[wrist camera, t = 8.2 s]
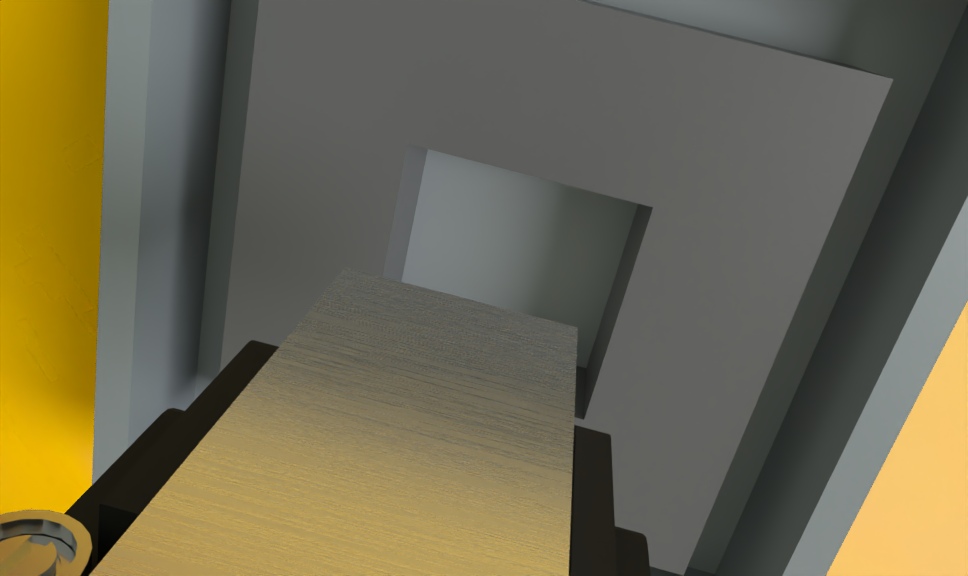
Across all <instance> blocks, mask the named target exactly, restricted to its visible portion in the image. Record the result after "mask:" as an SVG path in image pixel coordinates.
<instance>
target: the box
mask: <svg viewBox="0 0 968 576" xmlns="http://www.w3.org/2000/svg"><path fill="white" fill-rule="evenodd" d="M345 267H348V268H351V269H355V270H359V271H363V272H367V273H370V274H374V275H378V276H382V277H386V278H390V279H393V280H397V281H401V282H405V283H409V284H413V285H416V286H420V287H424V288H428V289H432V290H435V291H439V292H443V293H447V294H451V295H455V296H458V297H462V298H466V299H470V300H474V301H477V302H481V303H485V304H489V305H493V306H497V307H500V308H504V309H508V310H512V311H516V312H519V313H523V314H527V315H531V316H535V317H539V318H542V319H546V320H550V321H554V322H558V323H562V324H565V325H569V326H573V327H577V328H578V332H577V360H576V387H575V414H574V425H577V426H581V427H585V428H588V429H592V430H596V431H600V432H604V433H607V434H610V435H611V447H612V471H613V495H614V518H615V526H616V527H620V528H624V529H628V530H631V531H635V532H639V533H642V534H644V535H645V536H646V539H647V544H648V553H649V563H650V573H651V576H826V574H827V572H828V570H829V568H830V566H831V564H832V562H833V561H834V559H835V557H836V555H837V553H838V551H839V549H840V547H841V545H842V543H843V541H844V539H845V537H846V535H847V533H848V531H849V530H850V528H851V526H852V524H853V522H854V520H855V518H856V516H857V514H858V512H859V510H860V508H861V506H862V504H863V502H864V500H865V498H866V497H867V495H868V493H869V491H870V489H871V487H872V485H873V483H874V481H875V479H876V477H877V475H878V473H879V471H880V469H881V467H882V466H883V464H884V462H885V460H886V458H887V456H888V454H889V452H890V450H891V448H892V446H893V444H894V442H895V440H896V438H897V436H898V435H899V433H900V431H901V429H902V427H903V425H904V423H905V421H906V419H907V417H908V415H909V413H910V411H911V409H912V407H913V405H914V403H915V402H916V400H917V398H918V396H919V394H920V392H921V390H922V388H923V386H924V384H925V382H926V380H927V378H928V376H929V374H930V372H931V371H932V369H933V367H934V365H935V363H936V361H937V359H938V357H939V355H940V353H941V351H942V349H943V347H944V345H945V343H946V341H947V339H948V338H949V336H950V334H951V332H952V330H953V328H954V326H955V324H956V322H957V320H958V318H959V316H960V314H961V312H962V310H963V308H964V307H965V305H966V303H967V301H968V0H109V16H108V45H107V74H106V102H105V131H104V160H103V188H102V217H101V246H100V274H99V303H98V332H97V360H96V389H95V418H94V446H93V475H92V485H93V484H94V483H95V482H96V481H97V480H98V479H99V478H100V477H101V475H102V474H103V473H104V472H105V471H106V470H107V469H108V468H109V467H110V466H111V465H112V464H113V463H114V462H115V461H116V460H117V459H118V458H119V457H120V456H121V455H122V454H123V453H124V452H125V451H126V450H127V449H128V448H129V447H130V446H131V445H132V444H133V443H134V442H135V440H136V439H137V438H138V437H139V436H140V435H141V434H142V433H143V432H144V431H145V430H146V429H147V428H148V427H149V426H150V425H151V424H152V423H153V422H154V421H155V420H156V419H157V418H158V417H159V416H160V415H161V414H162V413H163V412H164V411H166V410H167V409H170V408H176V409H180V410H184V411H185V410H186V409H187V408H188V407H189V406H190V405H191V404H192V403H193V401H194V400H195V399H196V398H197V397H198V396H199V395H200V394H201V393H202V392H203V391H204V390H205V388H206V387H207V386H208V385H209V384H210V383H211V382H212V381H213V380H214V379H215V378H216V377H217V375H218V374H219V373H220V372H221V371H222V370H223V369H224V368H225V367H226V366H227V365H228V364H229V363H230V361H231V360H232V359H233V358H234V357H235V356H236V355H237V354H238V353H239V352H240V351H241V350H242V348H243V347H244V346H245V345H246V344H247V343H248V342H249V341H251V340H256V341H259V342H263V343H267V344H271V345H275V346H278V347H280V345H281V344H282V343H283V342H284V341H285V339H286V338H287V337H288V336H289V335H290V333H291V332H292V331H293V330H294V329H295V327H296V326H297V325H298V324H299V323H300V321H301V320H302V319H303V318H304V317H305V315H306V314H307V313H308V312H309V311H310V309H311V308H312V307H313V306H314V305H315V303H316V302H317V301H318V300H319V299H320V297H321V296H322V295H323V294H324V293H325V291H326V290H327V289H328V288H329V287H330V285H331V284H332V283H333V282H334V281H335V279H336V278H337V277H338V276H339V275H340V273H341V272H342V271H343V270H344V269H345Z"/></svg>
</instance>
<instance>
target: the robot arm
mask: <svg viewBox="0 0 968 576" xmlns="http://www.w3.org/2000/svg"><path fill="white" fill-rule="evenodd" d="M278 348H279V347H278V346H275V345H271V344H267V343H263V342H259V341H256V340H251V341H249V342H248V343H247V344H246V345H245V346H244V347H243V348H242V350H241V351H240V352H239V353H238V354H237V355H236V356H235V357H234V358H233V359H232V360H231V361H230V363H229V364H228V365H227V366H226V367H225V368H224V369H223V370H222V371H221V372H220V373H219V374H218V375H217V377H216V378H215V379H214V380H213V381H212V382H211V383H210V384H209V385H208V386H207V387H206V388H205V390H204V391H203V392H202V393H201V394H200V395H199V396H198V397H197V398H196V399H195V400H194V401H193V403H192V404H191V405H190V406H189V407H188V408H187V409H186V410H185V411H184V410H180V409H176V408H170V409H167V410H166V411H164V412H163V413H162V414H161V415H160V416H159V417H158V418H157V419H156V420H155V421H154V422H153V423H152V424H151V425H150V426H149V427H148V428H147V429H146V430H145V431H144V432H143V433H142V434H141V435H140V436H139V437H138V438H137V439H136V440H135V442H134V443H133V444H132V445H131V446H130V447H129V448H128V449H127V450H126V451H125V452H124V453H123V454H122V455H121V456H120V457H119V458H118V459H117V460H116V461H115V462H114V463H113V464H112V465H111V466H110V467H109V468H108V469H107V470H106V471H105V472H104V473H103V474H102V475H101V477H100V478H99V479H98V480H97V481H96V482H95V483H94V484H93V485H92V486H91V487H90V488H89V489H88V490H87V491H86V492H85V493H84V494H83V495H82V496H81V497H80V498H79V499H78V500H77V501H76V502H75V503H74V504H73V505H72V506H71V507H70V508H69V509H68V510H67V512H66V513H65V514H62V513H58V512H54V511H50V510H23V511H17V512H11V513H5V514H2V515H0V576H89V575H90V574H91V573H92V571H93V570H94V569H95V568H96V567H97V565H98V564H99V563H100V562H101V561H102V559H103V558H104V557H105V556H106V554H107V553H108V552H109V551H110V550H111V548H112V547H113V546H114V545H115V544H116V542H117V541H118V540H119V539H120V538H121V536H122V535H123V534H124V533H125V532H126V530H127V529H128V528H129V527H130V526H131V524H132V523H133V522H134V521H135V520H136V518H137V517H138V516H139V515H140V514H141V512H142V511H143V510H144V509H145V508H146V506H147V505H148V504H149V503H150V502H151V500H152V499H153V498H154V497H155V496H156V494H157V493H158V492H159V491H160V490H161V488H162V487H163V486H164V485H165V484H166V482H167V481H168V480H169V479H170V478H171V476H172V475H173V474H174V473H175V472H176V470H177V469H178V468H179V467H180V466H181V464H182V463H183V462H184V461H185V460H186V458H187V457H188V456H189V455H190V454H191V452H192V451H193V450H194V449H195V448H196V446H197V445H198V444H199V443H200V442H201V440H202V439H203V438H204V437H205V436H206V434H207V433H208V432H209V431H210V430H211V428H212V427H213V426H214V425H215V424H216V422H217V421H218V420H219V419H220V418H221V416H222V415H223V414H224V413H225V412H226V410H227V409H228V408H229V407H230V406H231V404H232V403H233V402H234V401H235V399H236V398H237V397H238V396H239V395H240V393H241V392H242V391H243V390H244V389H245V387H246V386H247V385H248V384H249V383H250V381H251V380H252V379H253V378H254V377H255V375H256V374H257V373H258V372H259V371H260V369H261V368H262V367H263V366H264V365H265V363H266V362H267V361H268V360H269V359H270V357H271V356H272V355H273V354H274V353H275V351H276V350H277V349H278ZM569 576H651V573H650V563H649V553H648V544H647V539H646V536H645V535H644V534H642V533H639V532H635V531H631V530H628V529H624V528H620V527H616V526H615V518H614V495H613V471H612V447H611V435H610V434H607V433H604V432H600V431H596V430H592V429H588V428H585V427H581V426H577V425H574V441H573V469H572V496H571V523H570V550H569Z"/></svg>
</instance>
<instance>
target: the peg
mask: <svg viewBox="0 0 968 576" xmlns="http://www.w3.org/2000/svg"><path fill="white" fill-rule="evenodd" d="M577 332H578V328H577V327H573V326H569V325H565V324H562V323H558V322H554V321H550V320H546V319H542V318H539V317H535V316H531V315H527V314H523V313H519V312H516V311H512V310H508V309H504V308H500V307H497V306H493V305H489V304H485V303H481V302H477V301H474V300H470V299H466V298H462V297H458V296H455V295H451V294H447V293H443V292H439V291H435V290H432V289H428V288H424V287H420V286H416V285H413V284H409V283H405V282H401V281H397V280H393V279H390V278H386V277H382V276H378V275H374V274H370V273H367V272H363V271H359V270H355V269H351V268H348V267H345V269H344V270H343V271H342V272H341V273H340V275H339V276H338V277H337V278H336V279H335V281H334V282H333V283H332V284H331V285H330V287H329V288H328V289H327V290H326V291H325V293H324V294H323V295H322V296H321V297H320V299H319V300H318V301H317V302H316V303H315V305H314V306H313V307H312V308H311V309H310V311H309V312H308V313H307V314H306V315H305V317H304V318H303V319H302V320H301V321H300V323H299V324H298V325H297V326H296V327H295V329H294V330H293V331H292V332H291V333H290V335H289V336H288V337H287V338H286V339H285V341H284V342H283V343H282V344H281V345H280V347H279V348H278V349H277V350H276V351H275V353H274V354H273V355H272V356H271V357H270V359H269V360H268V361H267V362H266V363H265V365H264V366H263V367H262V368H261V369H260V371H259V372H258V373H257V374H256V375H255V377H254V378H253V379H252V380H251V381H250V383H249V384H248V385H247V386H246V387H245V389H244V390H243V391H242V392H241V393H240V395H239V396H238V397H237V398H236V399H235V401H234V402H233V403H232V404H231V406H230V407H229V408H228V409H227V410H226V412H225V413H224V414H223V415H222V416H221V418H220V419H219V420H218V421H217V422H216V424H215V425H214V426H213V427H212V428H211V430H210V431H209V432H208V433H207V434H206V436H205V437H204V438H203V439H202V440H201V442H200V443H199V444H198V445H197V446H196V448H195V449H194V450H193V451H192V452H191V454H190V455H189V456H188V457H187V458H186V460H185V461H184V462H183V463H182V464H181V466H180V467H179V468H178V469H177V470H176V472H175V473H174V474H173V475H172V476H171V478H170V479H169V480H168V481H167V482H166V484H165V485H164V486H163V487H162V488H161V490H160V491H159V492H158V493H157V494H156V496H155V497H154V498H153V499H152V500H151V502H150V503H149V504H148V505H147V506H146V508H145V509H144V510H143V511H142V512H141V514H140V515H139V516H138V517H137V518H136V520H135V521H134V522H133V523H132V524H131V526H130V527H129V528H128V529H127V530H126V532H125V533H124V534H123V535H122V536H121V538H120V539H119V540H118V541H117V542H116V544H115V545H114V546H113V547H112V548H111V550H110V551H109V552H108V553H107V554H106V556H105V557H104V558H103V559H102V561H101V562H100V563H99V564H98V565H97V567H96V568H95V569H94V570H93V571H92V573H91V574H90V575H89V576H569V550H570V523H571V496H572V469H573V441H574V414H575V387H576V360H577Z"/></svg>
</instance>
